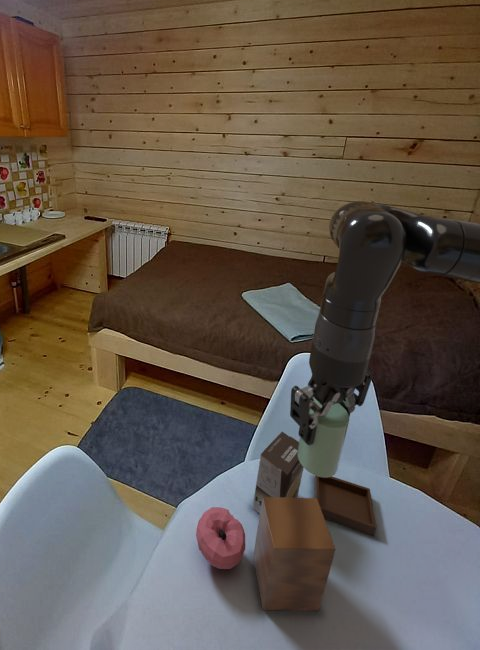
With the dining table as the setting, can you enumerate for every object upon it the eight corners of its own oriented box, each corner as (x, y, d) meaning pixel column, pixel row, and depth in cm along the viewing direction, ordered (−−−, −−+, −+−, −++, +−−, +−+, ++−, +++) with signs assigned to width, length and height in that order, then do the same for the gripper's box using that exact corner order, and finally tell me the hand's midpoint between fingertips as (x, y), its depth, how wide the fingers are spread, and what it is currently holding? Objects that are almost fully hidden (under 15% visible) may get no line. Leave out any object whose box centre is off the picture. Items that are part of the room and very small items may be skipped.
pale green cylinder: (317, 437, 60) (326, 392, 56) (346, 469, 54) (358, 420, 51) (289, 450, 57) (297, 403, 54) (316, 483, 52) (327, 433, 49)
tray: (367, 496, 80) (369, 488, 79) (373, 536, 72) (376, 528, 71) (314, 478, 83) (315, 471, 83) (314, 514, 76) (316, 506, 75)
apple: (251, 561, 67) (256, 527, 64) (222, 599, 62) (226, 564, 58) (215, 521, 74) (218, 488, 71) (186, 551, 69) (187, 517, 65)
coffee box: (277, 530, 72) (287, 476, 67) (251, 507, 77) (259, 454, 71) (297, 499, 79) (308, 447, 73) (273, 480, 83) (281, 429, 78)
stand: (303, 557, 68) (316, 497, 62) (318, 611, 61) (335, 549, 55) (253, 556, 68) (262, 496, 62) (262, 610, 60) (274, 547, 55)
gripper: (323, 373, 42) (304, 470, 48) (400, 347, 48) (375, 437, 53) (283, 340, 49) (270, 429, 54) (355, 320, 54) (337, 403, 60)
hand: (322, 433), depth 54 cm, fingers closed on pale green cylinder, 6 cm apart
